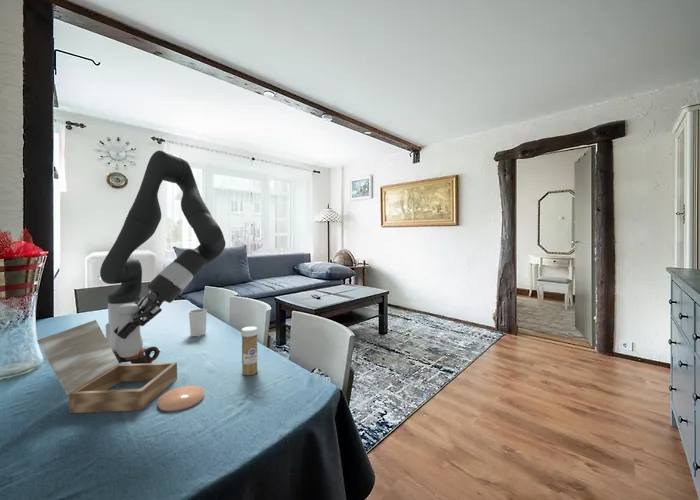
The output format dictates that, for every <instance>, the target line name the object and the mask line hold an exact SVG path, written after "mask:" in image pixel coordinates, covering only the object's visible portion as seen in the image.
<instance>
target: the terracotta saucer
mask: <svg viewBox="0 0 700 500" xmlns="http://www.w3.org/2000/svg"><path fill="white" fill-rule="evenodd" d="M204 397H205V389H204V388H203V387H201V386H199V385H198V386H197V385H185V386H180V387H177V388H176V387H175V388H174V389H170V390H168V391H167V392H165V393H163V394H162V395H161V396H160V397H159V398H158V400H157V407H158V409H159V410H161V411H163V412H178V411H182V410H186V409H188V408H191V407H193V406H196V405H198V404H199V403H200V402H201V401H202V400H203V399H204Z"/></svg>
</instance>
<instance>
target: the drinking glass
mask: <svg viewBox="0 0 700 500" xmlns="http://www.w3.org/2000/svg"><path fill="white" fill-rule="evenodd" d="M207 311H208V310H207V309H206V308H195V309H190V310H189V311H188V317H189V318H188V319H189V331H190V336H191V337H193V336H197V337H201V336H200V335H202V336H204V335H203V334H205V333H206V334H207V315H208V314H207ZM206 334H205V335H206Z"/></svg>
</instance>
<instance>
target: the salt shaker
mask: <svg viewBox="0 0 700 500" xmlns="http://www.w3.org/2000/svg"><path fill="white" fill-rule="evenodd" d="M137 309H138V305H137V304H133V303H131V304H124V305H121V306H119V307H118V309H117V311H118V314H119V315H121V316H120V321H119V327H118V332H119V331H120V330H121V329H122V328H123V327H124V326H125V325H126V324H127V323H128V322H130V320H131V319H132V318H133V317H134V315H135V313H136V311H137ZM130 323H131V322H130ZM118 332H117V333H118ZM140 332H141V329H140V330H139V327H137V328H136V329H135V330H134V331H133V332H131V333H130V334H129V335H128V336H127V338H126V339H122V338H121V337H119V336H118V335H117V337H116V342H115V350H116V352H115V353H118V355H119V356H120V357H122V358H123V357H131V356H134V355H137V354H138V353H139V351H140V349H141V347H142V348H143V344H144V342H143V338H142V335H141V334H142V333H141V334H140Z"/></svg>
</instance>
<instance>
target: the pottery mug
mask: <svg viewBox="0 0 700 500" xmlns="http://www.w3.org/2000/svg"><path fill="white" fill-rule="evenodd" d="M152 352H153V355H152V356H150V355H151V354H152ZM160 353H161V350H159V347H157V346H150V347H148V348H147V347H146V348H143V346H142V347H141V349H140V351H139V353H138V354H137V355H134V356H131V357H123V358H122V357H120V356H119V355H118V353H117V352H115V353H114V355H115V356H116V358H117V360H118V362H119V364H121V363H129V362H130V364H147V363H154V361H156V360H157V359H158V358H159V355H160Z"/></svg>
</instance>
